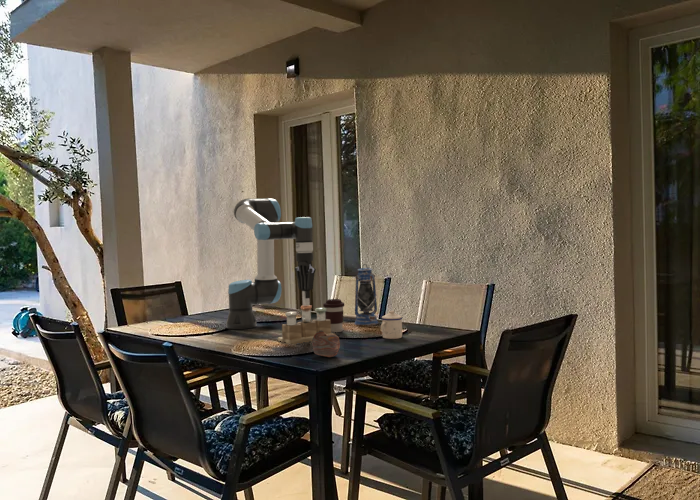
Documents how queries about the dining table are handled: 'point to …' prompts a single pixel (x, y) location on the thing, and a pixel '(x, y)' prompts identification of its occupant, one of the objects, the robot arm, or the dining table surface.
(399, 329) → the white enamel mug
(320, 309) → the sage plunger
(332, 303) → the coffee cup
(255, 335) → the dining table surface
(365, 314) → the lantern
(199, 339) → the dining table surface
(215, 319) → the dining table surface
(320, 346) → the stone
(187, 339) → the dining table surface
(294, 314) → the cream plunger
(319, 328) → the beige boxy slotted piece
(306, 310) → the terracotta plunger
